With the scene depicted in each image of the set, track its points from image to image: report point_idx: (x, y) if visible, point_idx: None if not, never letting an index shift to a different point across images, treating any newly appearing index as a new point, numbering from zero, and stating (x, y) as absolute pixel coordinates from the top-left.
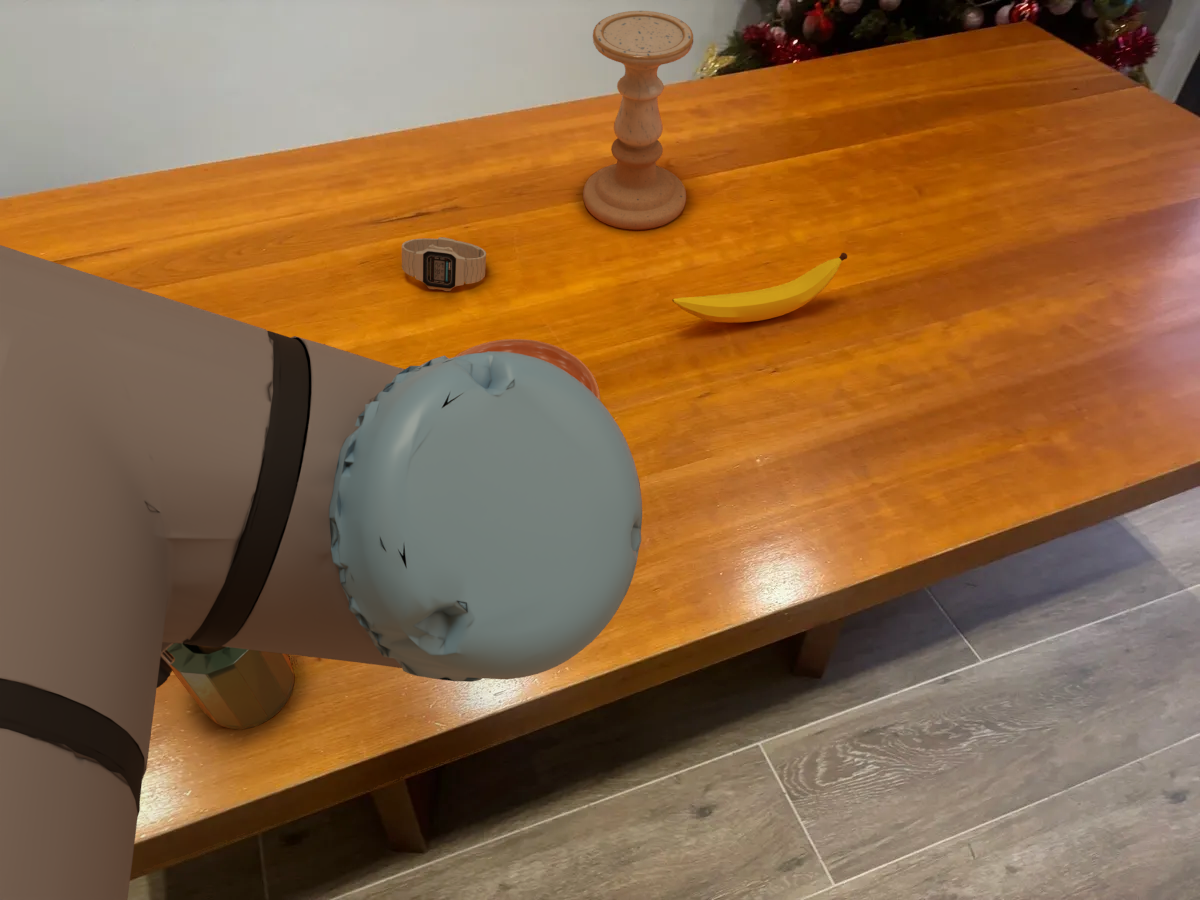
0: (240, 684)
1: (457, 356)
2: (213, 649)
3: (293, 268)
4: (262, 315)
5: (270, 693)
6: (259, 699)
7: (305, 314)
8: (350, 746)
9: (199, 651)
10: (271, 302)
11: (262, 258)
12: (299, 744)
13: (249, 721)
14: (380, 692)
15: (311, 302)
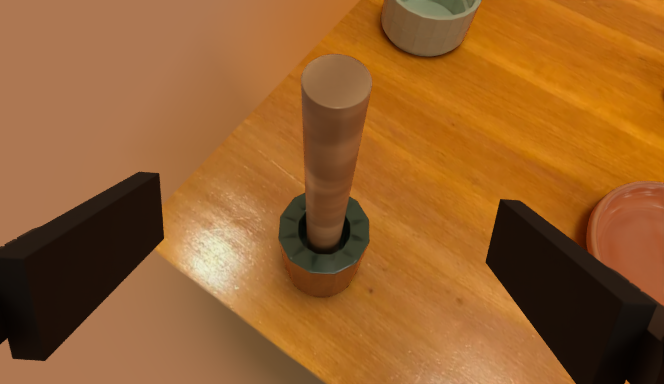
0: (306, 279)
1: (662, 184)
2: (311, 243)
3: (591, 27)
4: (545, 41)
5: (322, 291)
6: (312, 289)
7: (572, 61)
8: (330, 371)
9: None
10: (558, 37)
11: (578, 6)
12: (309, 332)
13: (299, 287)
14: (380, 358)
15: (583, 57)
